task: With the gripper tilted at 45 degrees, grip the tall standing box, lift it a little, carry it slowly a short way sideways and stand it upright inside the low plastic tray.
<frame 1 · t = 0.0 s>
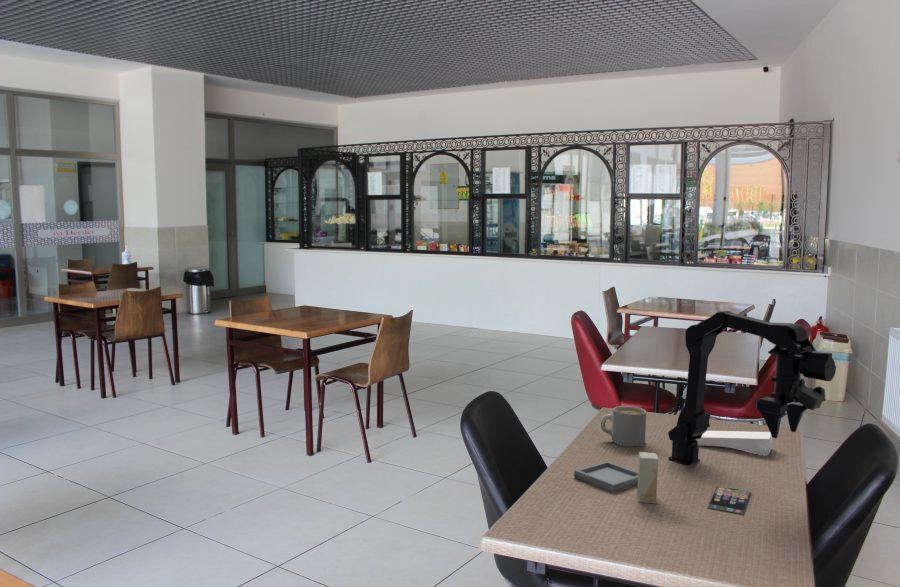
hand: (784, 434, 182), 15 cm above the table, tool pointing down, fingers open, 9 cm apart
coffee mug: (622, 441, 223), on the table
smartphone: (729, 503, 176), on the table
wall bracket: (720, 447, 221), on the table
box: (646, 500, 176), on the table
tray: (609, 479, 189), on the table
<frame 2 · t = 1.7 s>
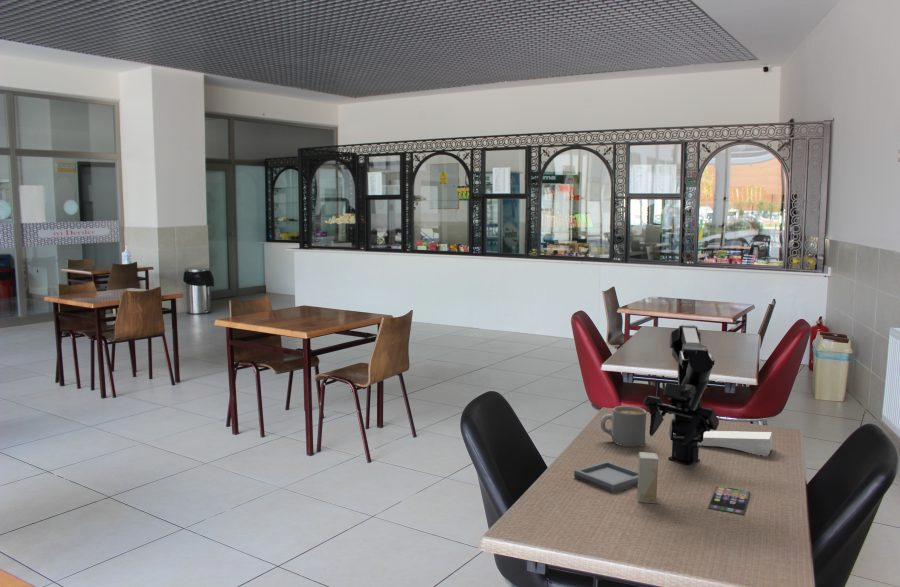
hand: (666, 439, 180), 13 cm above the table, tool tilted 45°, fingers open, 9 cm apart
nothing on the table moved.
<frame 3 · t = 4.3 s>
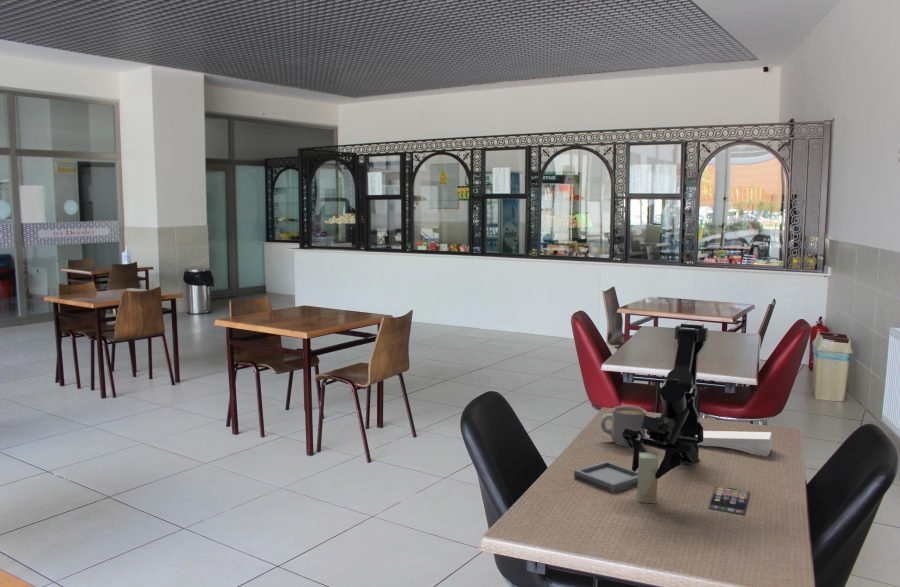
hand: (644, 474, 174), 7 cm above the table, tool tilted 45°, fingers closed on box, 6 cm apart
box: (646, 500, 176), on the table, touching gripper
everything else where it was.
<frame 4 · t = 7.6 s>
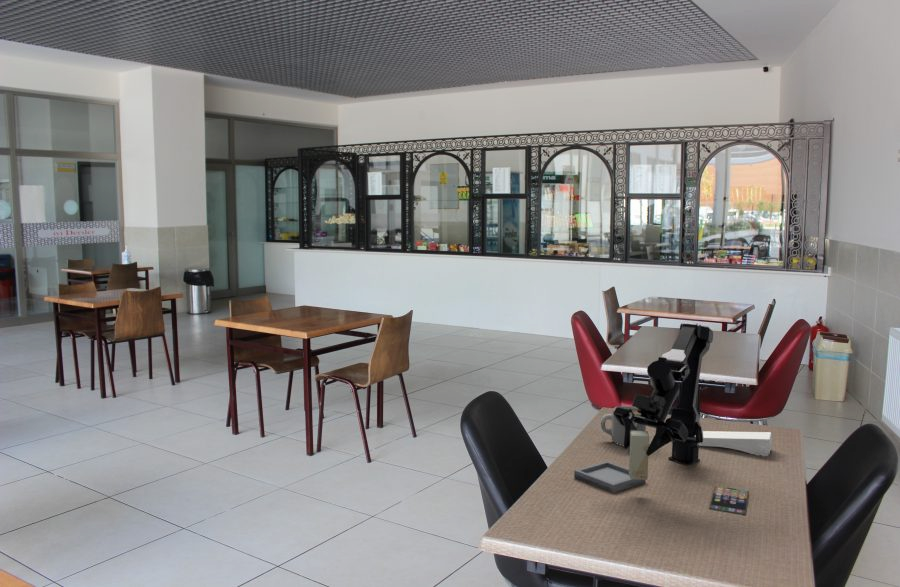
hand: (635, 451, 177), 11 cm above the table, tool tilted 45°, fingers closed on box, 6 cm apart
box: (637, 476, 179), point 4 cm above the table, touching gripper
everything else where it was.
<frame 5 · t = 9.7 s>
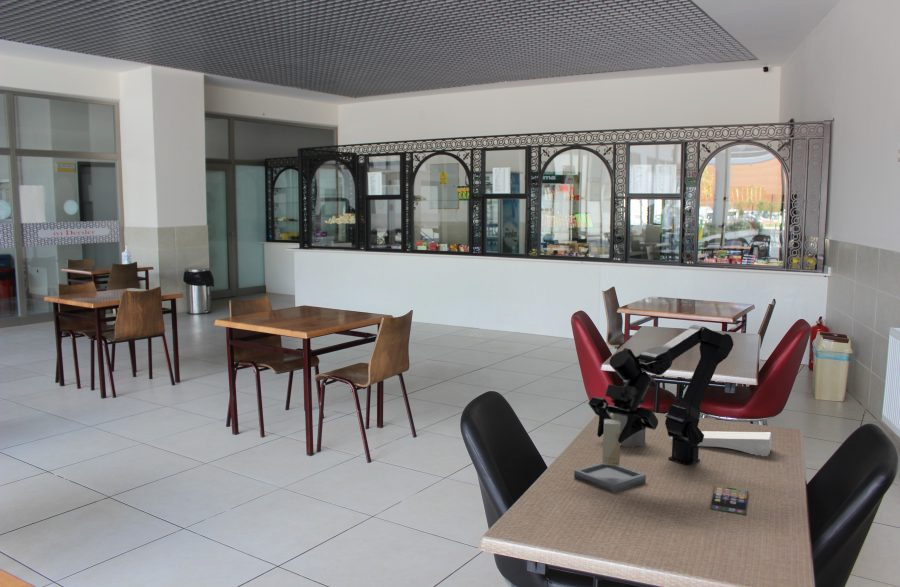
hand: (608, 439, 187), 11 cm above the table, tool tilted 45°, fingers closed on box, 6 cm apart
box: (610, 463, 189), point 4 cm above the table, touching gripper
everything else where it was.
when the fingers open (8 cm above the table, at t = 11.2 s): box stays where it is, resting on tray.
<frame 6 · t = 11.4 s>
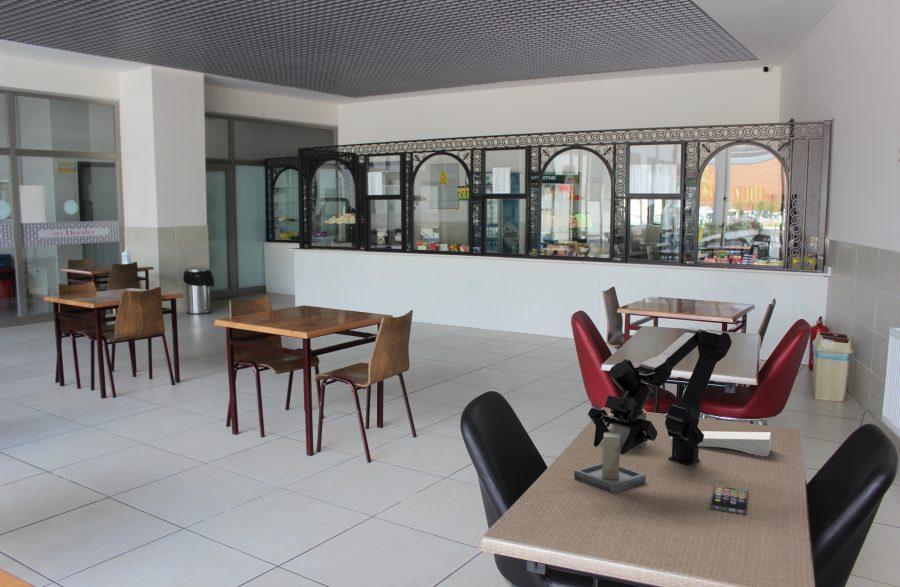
hand: (607, 450, 187), 8 cm above the table, tool tilted 45°, fingers open, 8 cm apart
box: (610, 476, 189), point 1 cm above the table, touching tray
everything else where it was.
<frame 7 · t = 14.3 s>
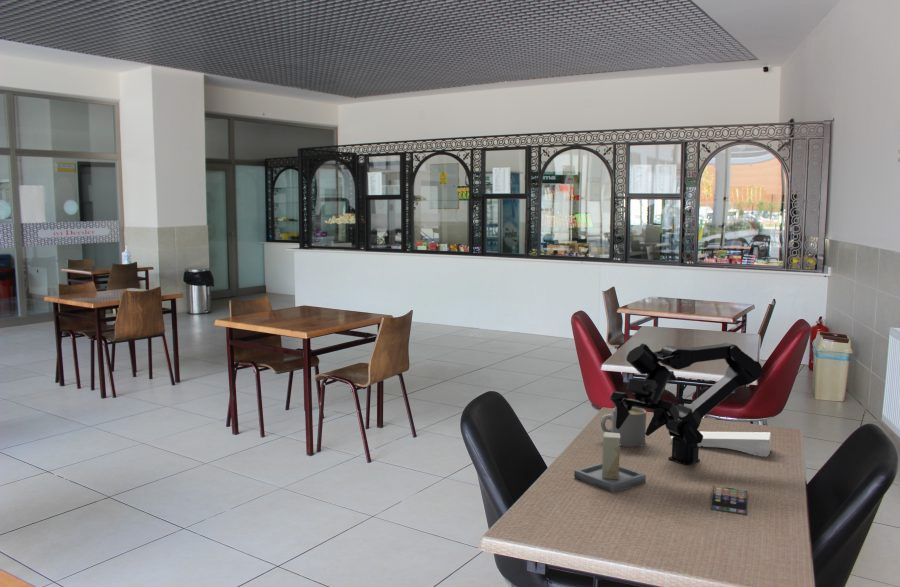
hand: (631, 431, 193), 12 cm above the table, tool tilted 45°, fingers open, 9 cm apart
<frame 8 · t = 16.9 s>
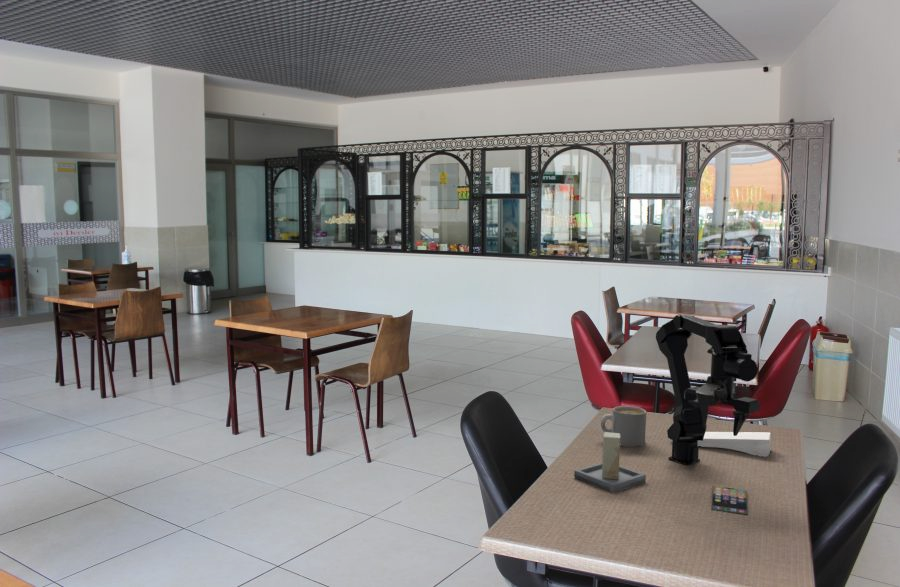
hand: (719, 431, 190), 13 cm above the table, tool pointing down, fingers open, 9 cm apart
at the end: box inside the target area on the tray (0.2 cm from its centre), point 0.8 cm above the tray's base; box tilted 0°; the gripper is holding nothing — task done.
